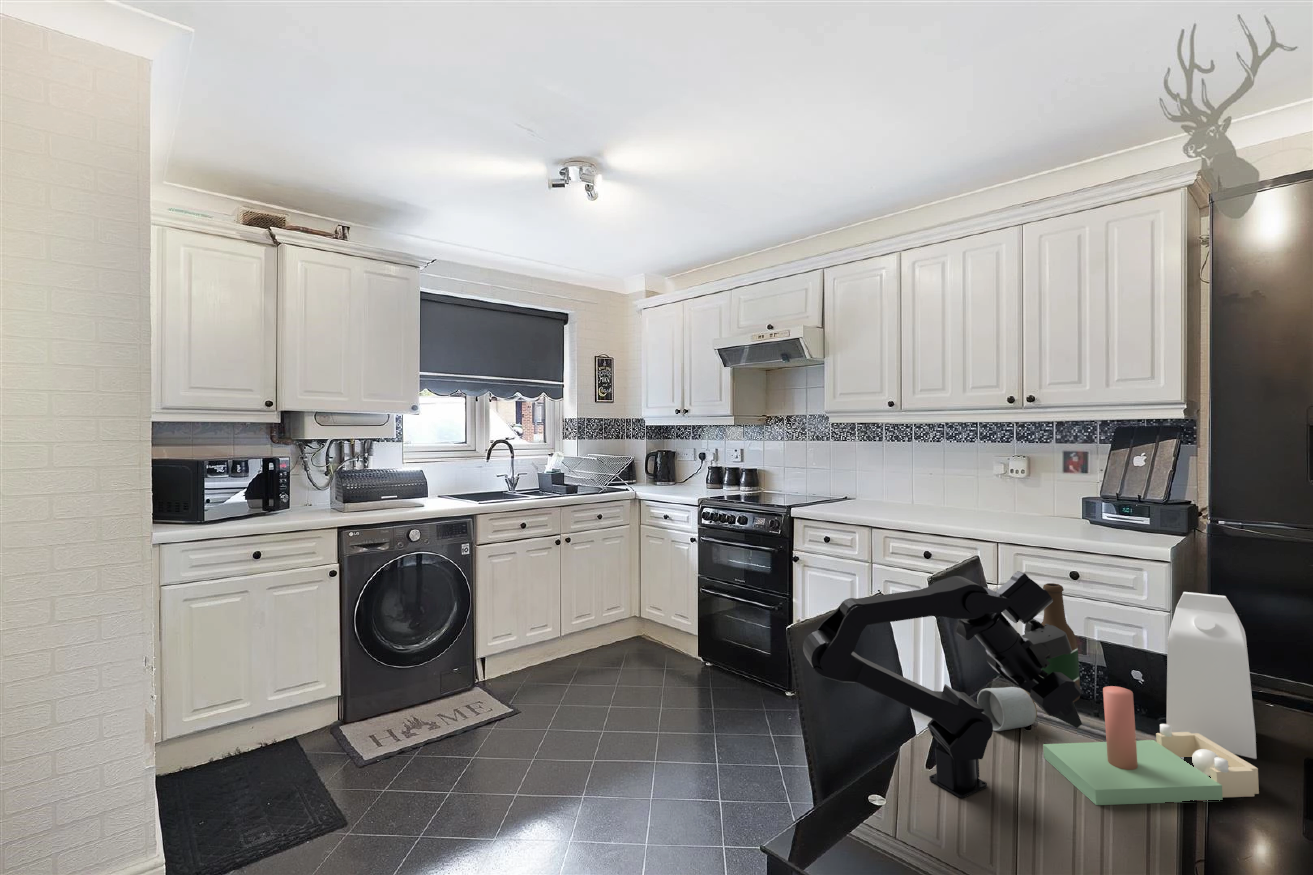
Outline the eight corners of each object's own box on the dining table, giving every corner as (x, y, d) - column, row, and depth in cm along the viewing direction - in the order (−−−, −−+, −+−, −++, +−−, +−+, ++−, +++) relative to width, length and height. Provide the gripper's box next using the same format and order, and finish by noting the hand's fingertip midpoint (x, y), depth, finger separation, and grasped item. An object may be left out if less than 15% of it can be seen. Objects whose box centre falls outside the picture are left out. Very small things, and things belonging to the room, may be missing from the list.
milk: (1255, 732, 116) (1248, 591, 115) (1256, 758, 107) (1249, 607, 107) (1171, 714, 124) (1164, 583, 123) (1166, 738, 115) (1159, 597, 115)
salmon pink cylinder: (1129, 772, 101) (1124, 698, 101) (1102, 761, 105) (1097, 689, 105) (1142, 764, 103) (1138, 692, 103) (1116, 754, 107) (1111, 684, 107)
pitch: (1096, 805, 97) (1095, 789, 97) (1043, 757, 111) (1043, 744, 111) (1222, 800, 97) (1221, 785, 97) (1154, 753, 111) (1153, 739, 111)
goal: (1218, 798, 97) (1217, 763, 97) (1156, 755, 110) (1154, 723, 110) (1263, 796, 97) (1262, 761, 97) (1195, 753, 110) (1194, 722, 110)
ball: (1234, 777, 100) (1208, 775, 101) (1215, 776, 104) (1190, 775, 104) (1225, 749, 102) (1199, 748, 102) (1206, 749, 106) (1182, 748, 106)
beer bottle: (1079, 692, 136) (1074, 581, 135) (1081, 706, 129) (1075, 590, 129) (1037, 686, 140) (1032, 578, 139) (1036, 699, 133) (1031, 587, 133)
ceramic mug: (1041, 731, 120) (1039, 691, 120) (1004, 738, 119) (1002, 697, 119) (1000, 709, 131) (998, 672, 131) (966, 715, 129) (963, 677, 129)
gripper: (1076, 630, 95) (1141, 708, 95) (1010, 593, 114) (1065, 658, 114) (1017, 676, 96) (1082, 753, 96) (962, 632, 114) (1016, 697, 114)
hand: (1061, 711), depth 105 cm, fingers open, 9 cm apart
